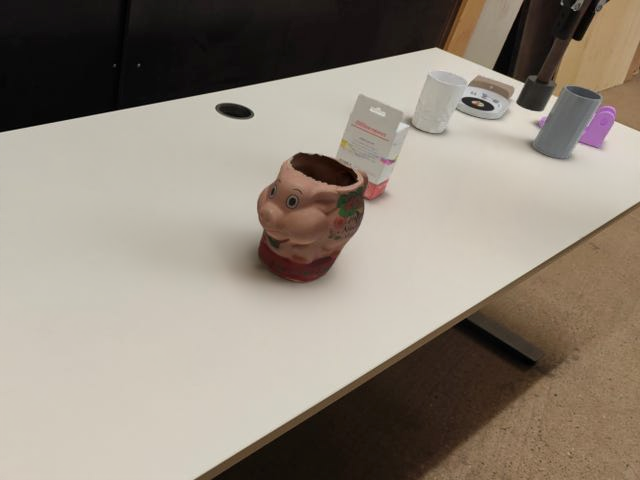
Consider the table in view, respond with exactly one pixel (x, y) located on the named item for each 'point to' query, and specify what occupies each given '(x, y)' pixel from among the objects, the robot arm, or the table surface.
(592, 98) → the grey cylindrical holder
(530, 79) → the brush
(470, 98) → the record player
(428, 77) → the white cup
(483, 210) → the table surface
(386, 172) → the ink cartridge box
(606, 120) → the bracket
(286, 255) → the decorative planter
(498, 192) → the table surface
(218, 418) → the table surface
